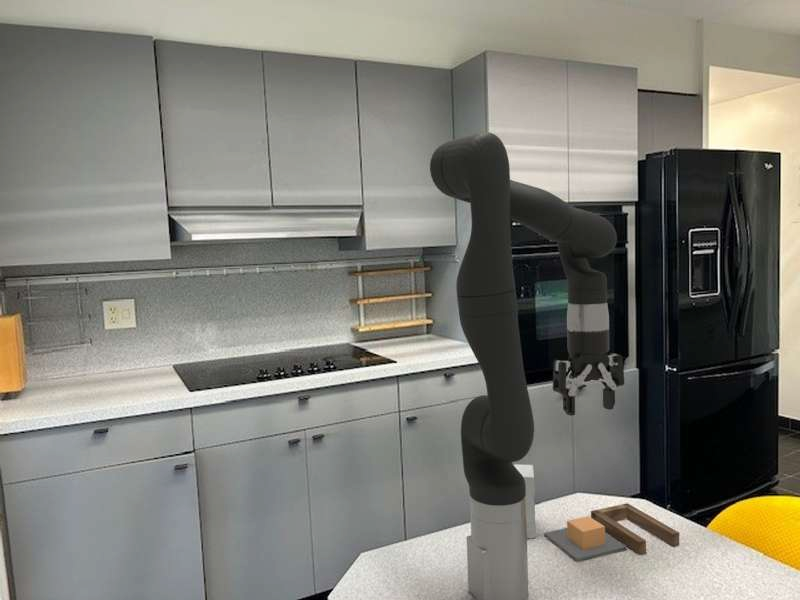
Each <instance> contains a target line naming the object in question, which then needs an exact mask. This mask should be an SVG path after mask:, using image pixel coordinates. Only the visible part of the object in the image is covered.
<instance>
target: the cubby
mask: <svg viewBox="0 0 800 600" xmlns="http://www.w3.org/2000/svg"><path fill="white" fill-rule="evenodd" d="M590 517H591V518H592V519H594V520H595V521H597V522H599V523H600V524H602V525H603V526H605V533H607V534H608V535H610V536H611V537H613V538H614V539H616V540H617V541H619V542H620V543H622V544H623V545H625V546H626V547H627V549H630V550H632V551H633V552H634V553H636V554H638V555H639V556H641V555H645V554H647V540H646V539H644V538H643V537H642V536H640V535H638V534H636V533H635V532H633V531H632V530H631V529H629V528H627V527H625V526H624V525H622V524H621V523H619V522H618V521H617V520H619V521H622V519H623V520H628V519H629V520H630V521H629V520H628V521H629V522H631V521H632V522H631V523H633V522H634V523H635V525H636V524H637V527H639V526H640V528H641V529H643V530H645V531H646V532H648V533H649V534H651V535H652V536H655V537H656V538H658V539H659V540H660V541H663V542H664V543H666V544H668V545H670V546H671V547H672V548H673V547H677V546H680V532H679V531H677V530H675V529H673V527H670V526H669V525H666V524H665V523H664V522H662V521H659V520H658V519H656V518H655V517H653V516H651V515H649V514H647V513H646V512H645V511H642V510H640V509H638V508H637V507H635V506H634V505H632V504H629V503H628V502H627V503H623V504H618V505H614V506H607V507H603V508H598V509H594V510H591V511H590ZM625 518H627V519H625ZM634 523H633V524H634Z"/></svg>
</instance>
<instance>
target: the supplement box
mask: <svg viewBox="0 0 800 600" xmlns="http://www.w3.org/2000/svg"><path fill="white" fill-rule="evenodd" d="M513 465H514V466H515V468H516V469H517V470H518V471H519V472H520V473H521V474H522V476H523V477H524V480H525V485H526V519H527V539H535V538H536V504H535V503H536V501H535V500H536V495H535V494H536V492H535V472H534V465H533V464H518V463H517V464H514V463H513Z"/></svg>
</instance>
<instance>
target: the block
mask: <svg viewBox="0 0 800 600" xmlns="http://www.w3.org/2000/svg"><path fill="white" fill-rule="evenodd" d="M566 528H567V538H568V539H569V540H571V541H572V542H573V543H575V544H576V545H577V546H579V547H580V548H582V549H583V550H585V549H589V548H593V547H597V546H601V545H605V533H606V532H605V526H603V525H602V524H600V523H599V522H597V521H595V520H594V519H592V518H591V516H589V515H587V516H583V517H578V518H574V519H570V520H567V521H566Z"/></svg>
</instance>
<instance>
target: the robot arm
mask: <svg viewBox="0 0 800 600" xmlns="http://www.w3.org/2000/svg"><path fill="white" fill-rule="evenodd" d="M507 151H508V150H507V149H506V147H505V145H504V143H503V141H502V140H501V138H500V137H499V136H498V135H496V134H495V133H493V132H491V131H490V132H489V131H482V132H478V133H473V134H470V135H466V136H462V137H459V138H455V139H451V140H449V141H446V142H444V143H442V144H441V145H439V146H438V147H437V148H436V149H435V150H434V152H433V154H432V155H431V158H430V163H429V171H430V176H431V179H432V182H433V183H434V186H435V187H436V188H437V189H438V190H439V192H441V193H442V194H443V195H446V196H447V197H450V198H453V199H456V200H458V201H462V202H466V203H469V204H470V212H471V213H470V215H471V216H470V217H471V218H470V219H471V229H470V237H469V241H468V243H467V246H466V249H465V251H464V255H463V258H462V260H461V264H460V267H459V270H458V273H457V277H456V285H455V286H456V299H457V306H458V318H459V322H460V326H461V329H462V332H463V335H464V337H465V339H466V341H467V343H468V346H469V348H470V349H471V351H472V353H473V355H474V357H475V359H476V361H477V362H478V364H479V367H480V370H481V372H482V374H483V377H484V378H483V379H484V381H485V387H486V392H487V393H486V394H487V395H479V396H476V397H475V398H473V399H471V401H469V403H467V405H466V407H465V408H464V411H463V414H462V417H461V424H460V439H461V452H462V453H461V454H462V463H463V464H462V465H463V467H462V468H463V472H464V477H465V479H466V480H465V481H467V485H468V487H469V506H470V507H469V510H470V513H469V514H470V534H471V535H468V536H466V558H467V559H466V560H467V561H466V562H467V587H468V591H469V592H470V593H471V594H472V596H473V597H474V598H475V599H476V600H528V597H529V567H528V566H529V565H528V563H529V558H528V538H527V519H526V485H525V480H524V477H523V476H522V474H521V473H520V472H519V471H518V470H517V469H516V468H515V466H514V465H513V464H514V462H519V461H521V460H522V459H523V458H525V457H526V456H527V455H528V453H529V452H530V450H531V448H532V445H533V441H534V436H535V422H534V421H535V419H534V415H533V409H532V404H531V400H530V395H529V390H528V384H527V380H526V379H527V378H526V375H525V374H526V373H525V369H524V361H523V352H522V345H521V344H522V343H521V337H520V328H519V313H518V310H519V309H518V301H517V300H518V299H517V290H516V282H515V276H514V275H515V274H514V264H513V253H512V251H513V250H512V238H511V220H512V221H514V222H516V223H518V224H520V225H522V226H524V227H525V228H528V229H529V230H531V231H533V232H534V233H536V234H538V235H540V236H542V237H544V238H545V239H547V240H548V241H552V242H555V243H557V251H558V254H559V257H560V260H561V264H562V267H563V272H564V275H565V278H566V281H567V312H566V332H567V333H566V337H567V339H566V340H567V352H568V359H567V360H558V359H555V360H554V361H553V368H552V369H553V370H552V371H553V372H552V391H553V392H555V393H559V394H560V395H562V409H563V410H562V411H563V412H565V414H566V415H568V416H571V417H573V416H575V415H576V396H575V393H576V391H578V390H577V389H578V388H579V387H581V386H582V384H583V383H586V382H590V381H599V382H600V384H601V385H602V386H603V388H602V406H603V409H606V410H609V411H611V410H614V406H615V404H616V390H617V388H618V387H624V385H625V372H624V369H625V368H624V357H623V355H621V354H617V353H612V352H611V353H610V354H608V352H609V351H610V313H609V307H608V306H609V305H608V281H607V279H608V278H607V275H606V274H605V273H604V272H602V271H600V270H596V269H593V268H591V265H589V262H588V259H587V258H589V259H590V258H591V259H593V258H596V259H597V258H604V257H606V256H608V255H609V254H611V253H612V252H613V251H614V250H615V248H616V246H617V241H618V235H617V232H616V229H615V226H614V225H613V224H612V223H611V222H610V221H609V220H608V219H606V218H605V217H603V216H601V215H598V214H595V213H593V212H590V211H587V210H584V209H581V208H577V207H574V206H572V205H571V204H569V203H567V202H566V201H565V200H563V199H561V198H560V197H559V196H557V195H555V194H553V193H551V192H550V191H548V190H545V189H543V188H540V187H536V186H534V185H530V184H526V183H522V182H518V181H515V180H513V179H511V174H510V173H511V172H510V160H509V156H508V152H507ZM608 366H609V371H610V372H609V371H608V370H607V368H608ZM569 370H570V371H569ZM568 371H569V372H568ZM567 373H568V374H567Z"/></svg>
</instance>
